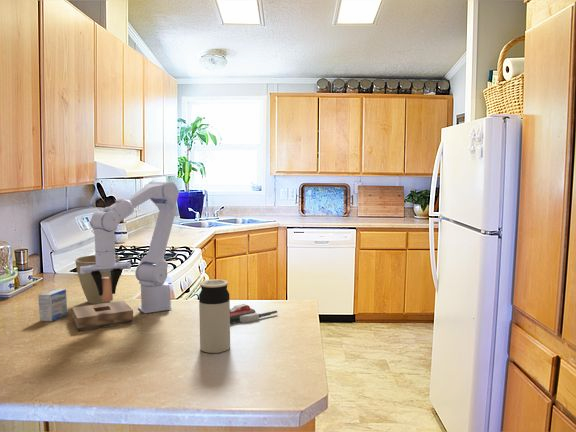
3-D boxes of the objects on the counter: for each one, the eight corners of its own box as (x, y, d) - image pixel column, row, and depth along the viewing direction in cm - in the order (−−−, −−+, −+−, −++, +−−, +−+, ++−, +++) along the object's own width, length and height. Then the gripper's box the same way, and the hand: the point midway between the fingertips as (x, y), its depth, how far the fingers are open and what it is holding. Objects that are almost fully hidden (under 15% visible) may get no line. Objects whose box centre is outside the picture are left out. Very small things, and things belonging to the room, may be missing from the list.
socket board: (124, 312, 164) (123, 300, 163) (133, 322, 152) (132, 310, 152) (72, 319, 156) (72, 307, 155) (77, 331, 144) (77, 318, 144)
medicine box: (51, 322, 154) (50, 295, 153) (39, 321, 154) (37, 294, 154) (67, 314, 161) (66, 288, 160) (55, 313, 162) (54, 288, 161)
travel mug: (236, 347, 131) (235, 282, 129) (213, 356, 125) (212, 287, 123) (217, 340, 136) (216, 277, 134) (194, 348, 130) (192, 282, 129)
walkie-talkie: (225, 328, 148) (279, 316, 160) (225, 314, 147) (279, 303, 159) (211, 321, 155) (264, 310, 167) (211, 307, 154) (263, 297, 166)
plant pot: (68, 306, 171) (66, 261, 170) (92, 295, 186) (90, 254, 184) (107, 308, 168) (105, 262, 167) (128, 297, 183) (127, 255, 182)
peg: (113, 298, 153) (112, 276, 152) (111, 301, 150) (110, 279, 149) (103, 299, 152) (102, 277, 152) (100, 301, 149) (99, 279, 148)
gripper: (126, 246, 157) (128, 288, 158) (77, 250, 149) (79, 294, 151) (131, 249, 151) (133, 293, 152) (81, 254, 143) (83, 299, 144)
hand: (107, 294), depth 151 cm, fingers closed on peg, 3 cm apart
